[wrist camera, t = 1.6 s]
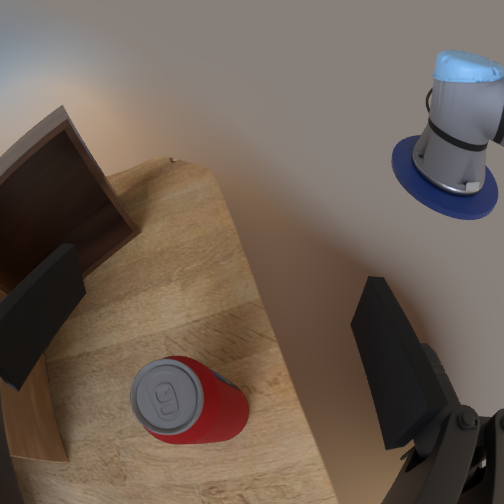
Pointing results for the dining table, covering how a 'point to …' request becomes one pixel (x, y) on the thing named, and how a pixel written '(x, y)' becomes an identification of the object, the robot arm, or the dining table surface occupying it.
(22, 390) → the cabinet door
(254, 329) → the dining table surface
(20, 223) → the cabinet
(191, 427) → the beverage can
